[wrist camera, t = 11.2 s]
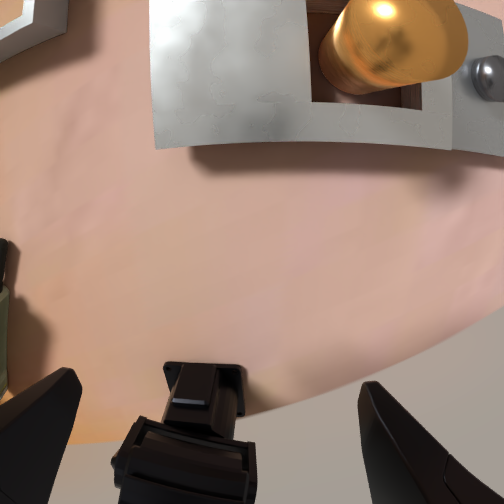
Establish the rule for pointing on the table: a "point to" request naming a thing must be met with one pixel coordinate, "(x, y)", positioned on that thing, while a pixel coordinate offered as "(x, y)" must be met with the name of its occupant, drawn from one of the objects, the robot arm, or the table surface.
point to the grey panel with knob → (305, 82)
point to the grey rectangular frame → (33, 26)
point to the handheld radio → (3, 319)
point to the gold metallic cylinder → (393, 44)
